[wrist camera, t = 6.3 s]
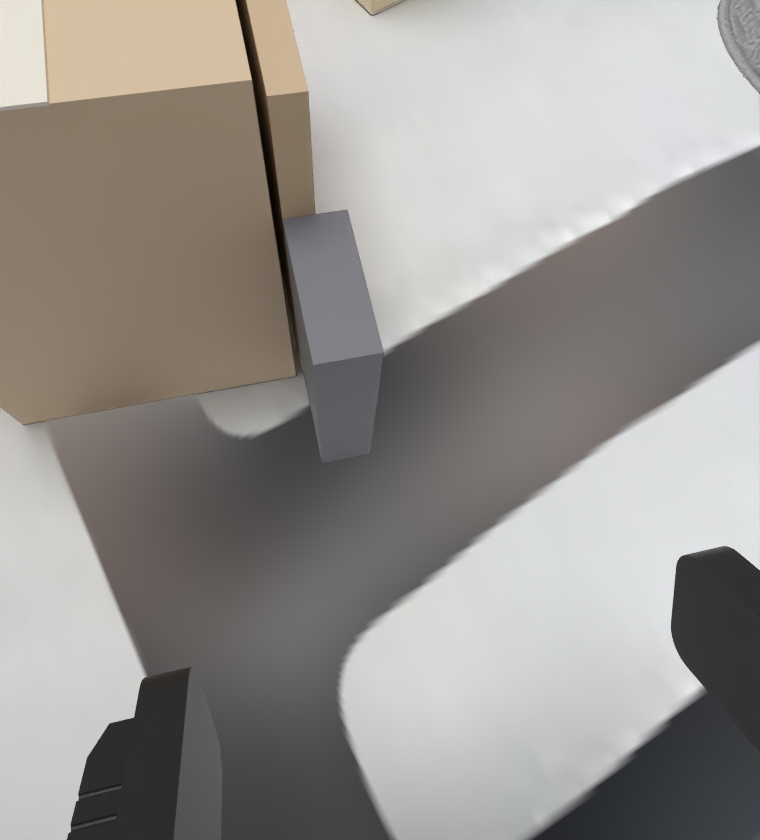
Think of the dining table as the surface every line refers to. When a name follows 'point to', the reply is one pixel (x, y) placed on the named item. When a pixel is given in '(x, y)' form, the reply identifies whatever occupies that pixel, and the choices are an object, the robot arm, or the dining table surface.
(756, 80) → the grey oval domed piece
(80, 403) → the carton
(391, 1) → the coffeecake box
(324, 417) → the carton flap
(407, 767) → the dining table surface
